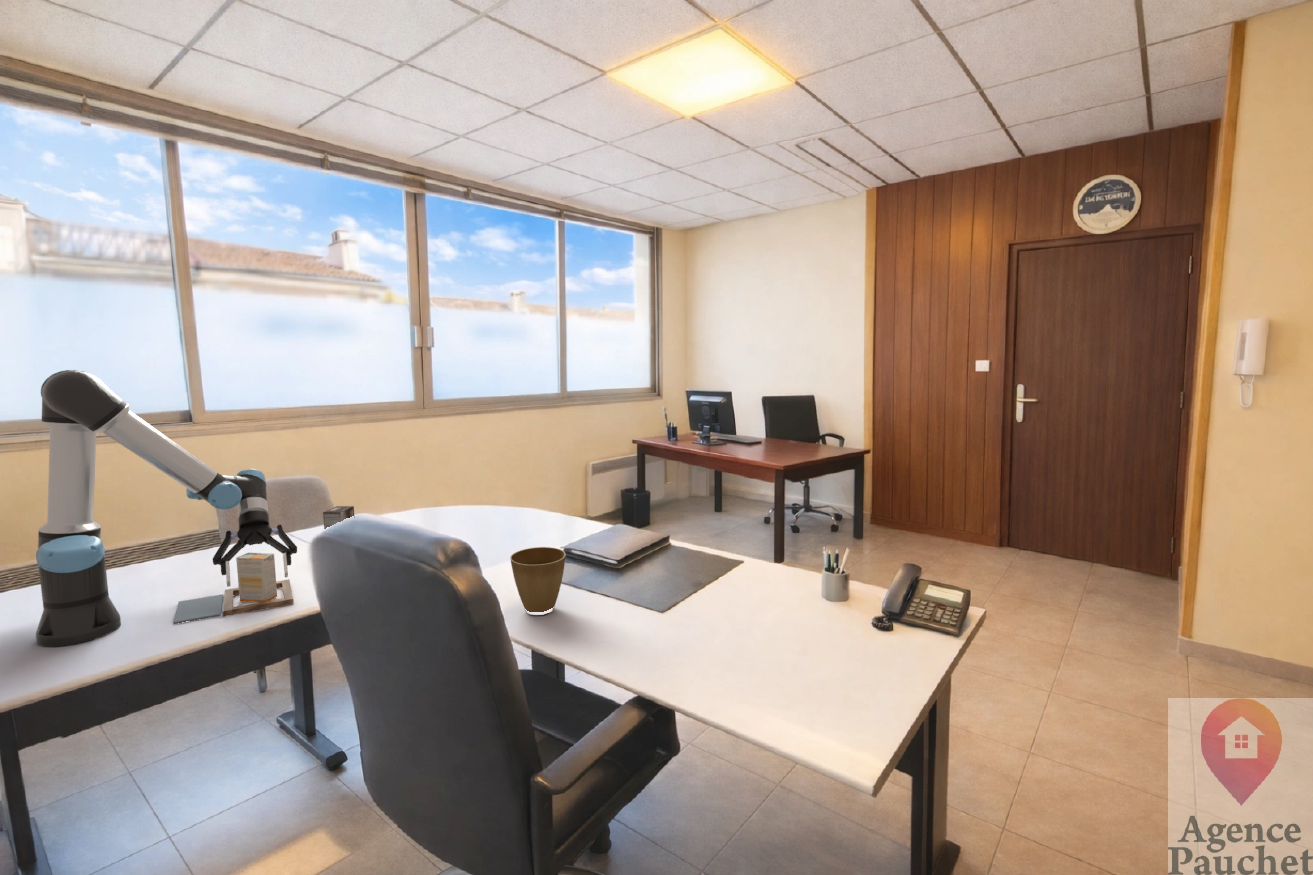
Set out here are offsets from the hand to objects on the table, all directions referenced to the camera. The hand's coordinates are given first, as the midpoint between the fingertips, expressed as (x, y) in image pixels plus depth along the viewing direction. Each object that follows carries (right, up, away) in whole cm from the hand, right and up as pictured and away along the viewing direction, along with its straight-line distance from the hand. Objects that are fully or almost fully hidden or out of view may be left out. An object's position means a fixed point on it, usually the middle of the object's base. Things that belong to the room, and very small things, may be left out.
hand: (258, 579), depth 169 cm
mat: (-12, -7, -5) cm, 15 cm away
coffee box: (0, -1, +44) cm, 44 cm away
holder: (-1, -6, +2) cm, 7 cm away
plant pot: (+80, -8, -3) cm, 80 cm away
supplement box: (-1, -6, +2) cm, 7 cm away
